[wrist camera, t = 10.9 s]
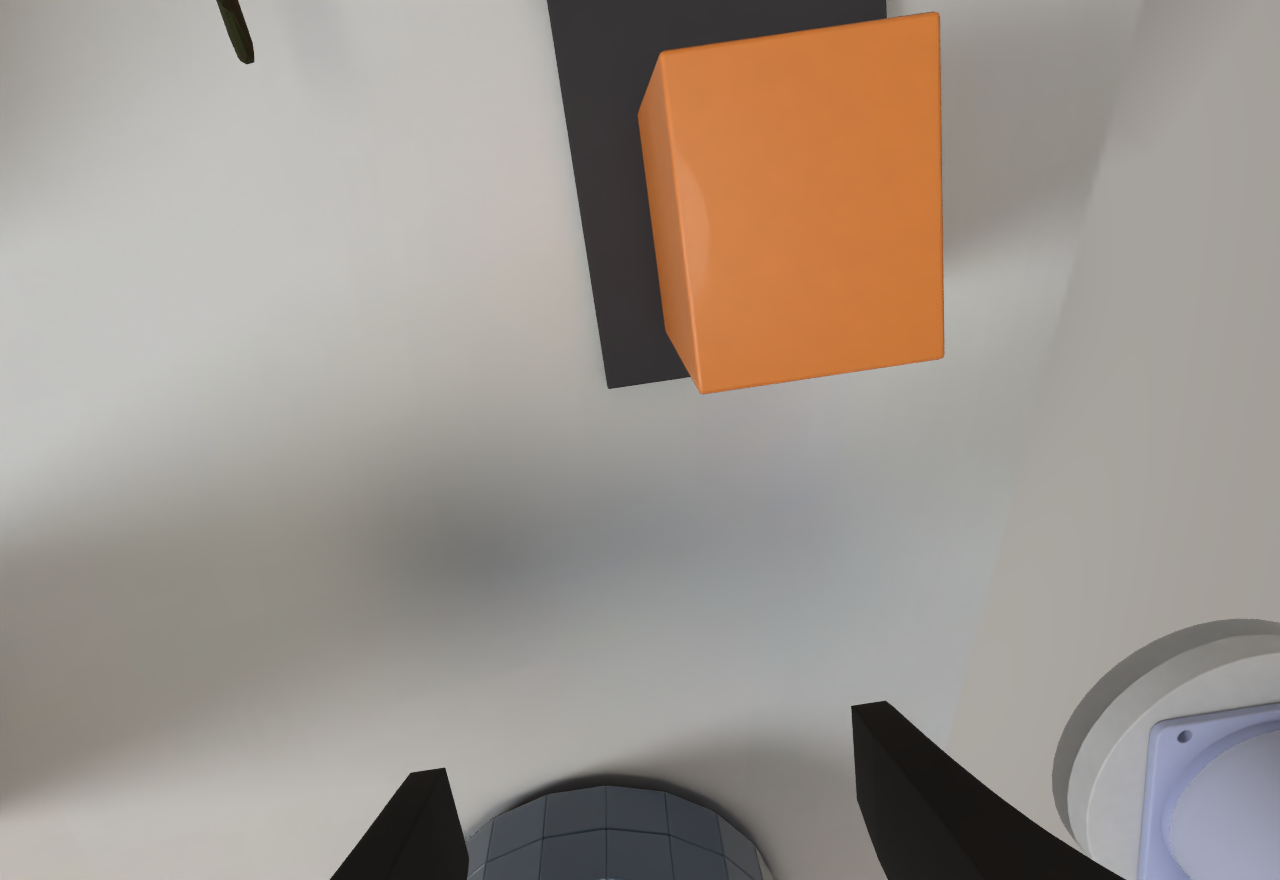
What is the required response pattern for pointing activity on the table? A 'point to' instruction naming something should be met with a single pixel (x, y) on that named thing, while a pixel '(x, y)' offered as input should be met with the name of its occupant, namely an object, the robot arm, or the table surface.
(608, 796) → the bowl
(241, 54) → the flower
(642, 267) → the dark grey flat board
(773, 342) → the orange rectangular block
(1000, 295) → the table surface
